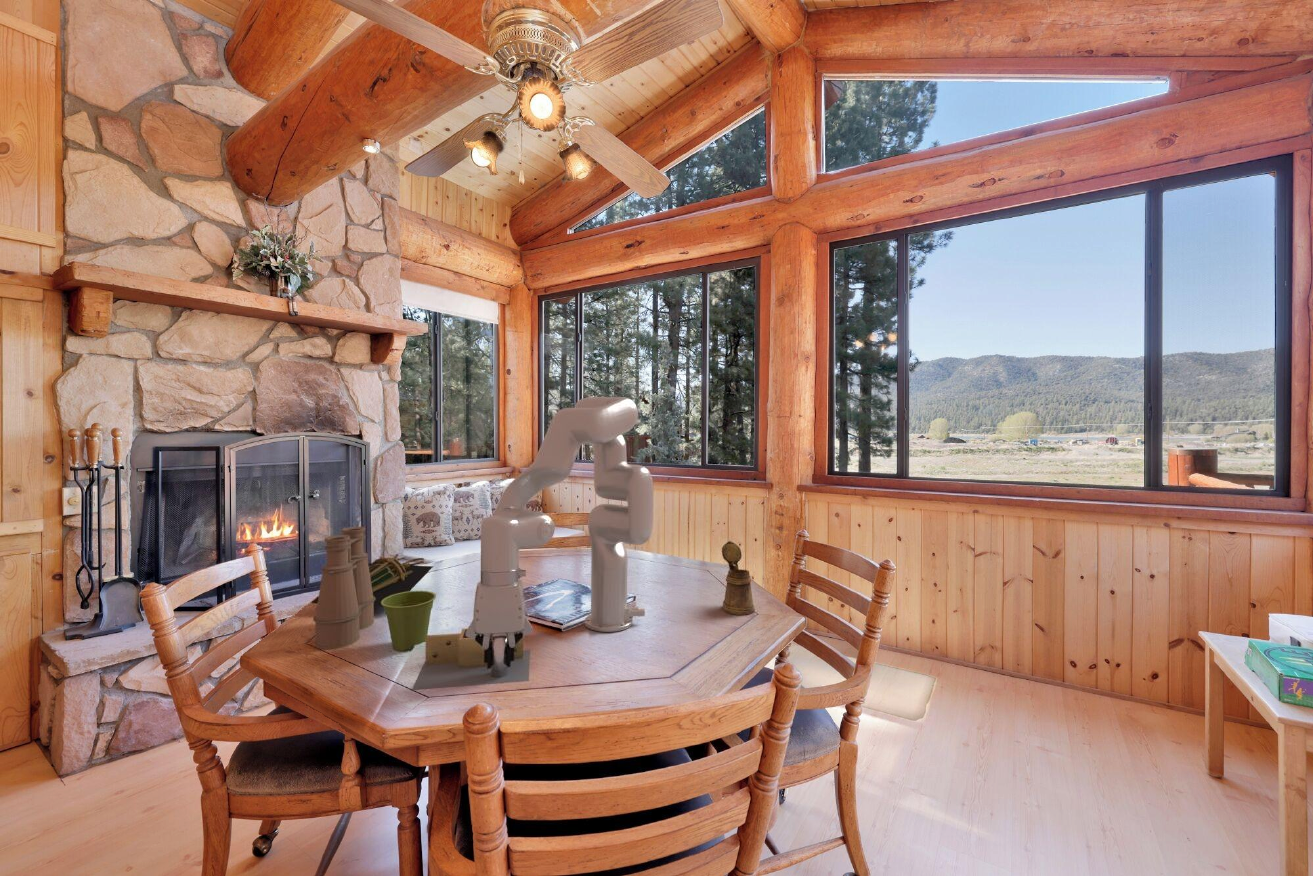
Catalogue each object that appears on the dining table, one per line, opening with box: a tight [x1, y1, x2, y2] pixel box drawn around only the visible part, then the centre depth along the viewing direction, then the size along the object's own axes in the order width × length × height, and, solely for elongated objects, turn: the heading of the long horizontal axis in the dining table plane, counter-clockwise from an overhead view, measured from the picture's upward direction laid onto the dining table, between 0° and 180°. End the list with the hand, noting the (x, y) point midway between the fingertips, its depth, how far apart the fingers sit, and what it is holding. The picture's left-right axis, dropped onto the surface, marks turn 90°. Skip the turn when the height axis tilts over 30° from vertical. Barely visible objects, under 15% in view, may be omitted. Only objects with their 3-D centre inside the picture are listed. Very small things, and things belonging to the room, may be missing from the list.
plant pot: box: [381, 590, 437, 652], centre depth 130 cm, size 12×12×11 cm
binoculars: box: [312, 526, 376, 650], centre depth 137 cm, size 21×10×25 cm, turn 10°
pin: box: [491, 633, 508, 678], centre depth 114 cm, size 3×3×8 cm
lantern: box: [310, 553, 434, 608], centre depth 164 cm, size 14×23×30 cm
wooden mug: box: [721, 540, 755, 616], centre depth 160 cm, size 9×14×18 cm, turn 11°
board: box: [411, 649, 531, 691], centre depth 116 cm, size 22×15×1 cm
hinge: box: [425, 628, 524, 668], centre depth 120 cm, size 20×6×6 cm, turn 102°
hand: (499, 664), depth 114 cm, fingers closed on pin, 3 cm apart
